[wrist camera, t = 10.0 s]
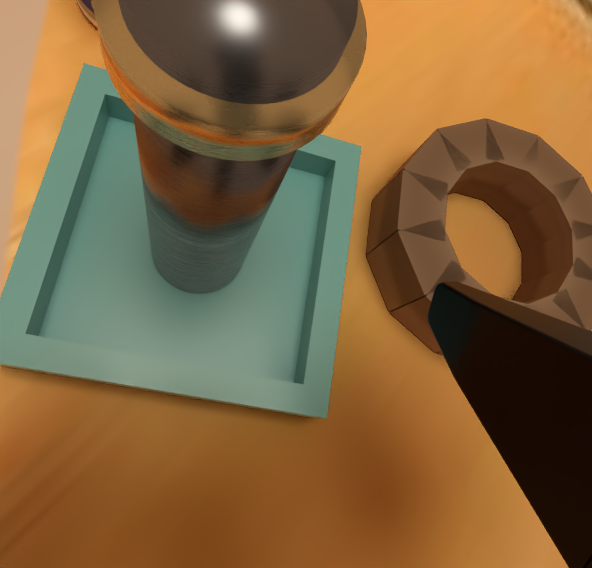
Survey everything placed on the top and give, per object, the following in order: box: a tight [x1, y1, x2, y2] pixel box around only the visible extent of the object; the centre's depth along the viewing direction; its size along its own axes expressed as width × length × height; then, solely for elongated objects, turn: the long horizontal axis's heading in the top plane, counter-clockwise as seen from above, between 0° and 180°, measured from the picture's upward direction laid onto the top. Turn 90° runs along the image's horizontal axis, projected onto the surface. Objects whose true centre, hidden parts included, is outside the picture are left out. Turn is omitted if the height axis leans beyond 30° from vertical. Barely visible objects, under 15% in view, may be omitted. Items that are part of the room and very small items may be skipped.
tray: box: [0, 63, 361, 418], centre depth 18 cm, size 11×11×2 cm
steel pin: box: [92, 0, 367, 294], centre depth 12 cm, size 4×4×12 cm
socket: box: [366, 118, 592, 355], centre depth 20 cm, size 10×10×3 cm
